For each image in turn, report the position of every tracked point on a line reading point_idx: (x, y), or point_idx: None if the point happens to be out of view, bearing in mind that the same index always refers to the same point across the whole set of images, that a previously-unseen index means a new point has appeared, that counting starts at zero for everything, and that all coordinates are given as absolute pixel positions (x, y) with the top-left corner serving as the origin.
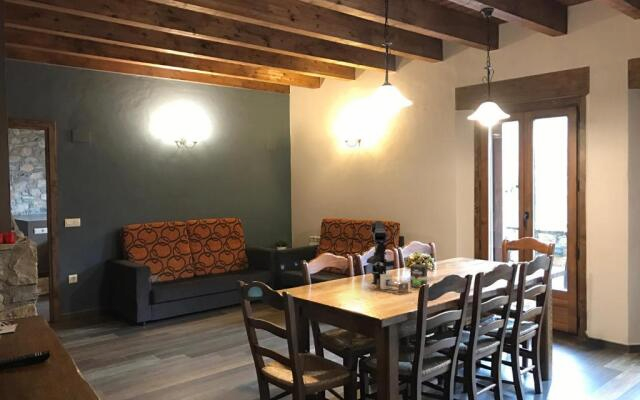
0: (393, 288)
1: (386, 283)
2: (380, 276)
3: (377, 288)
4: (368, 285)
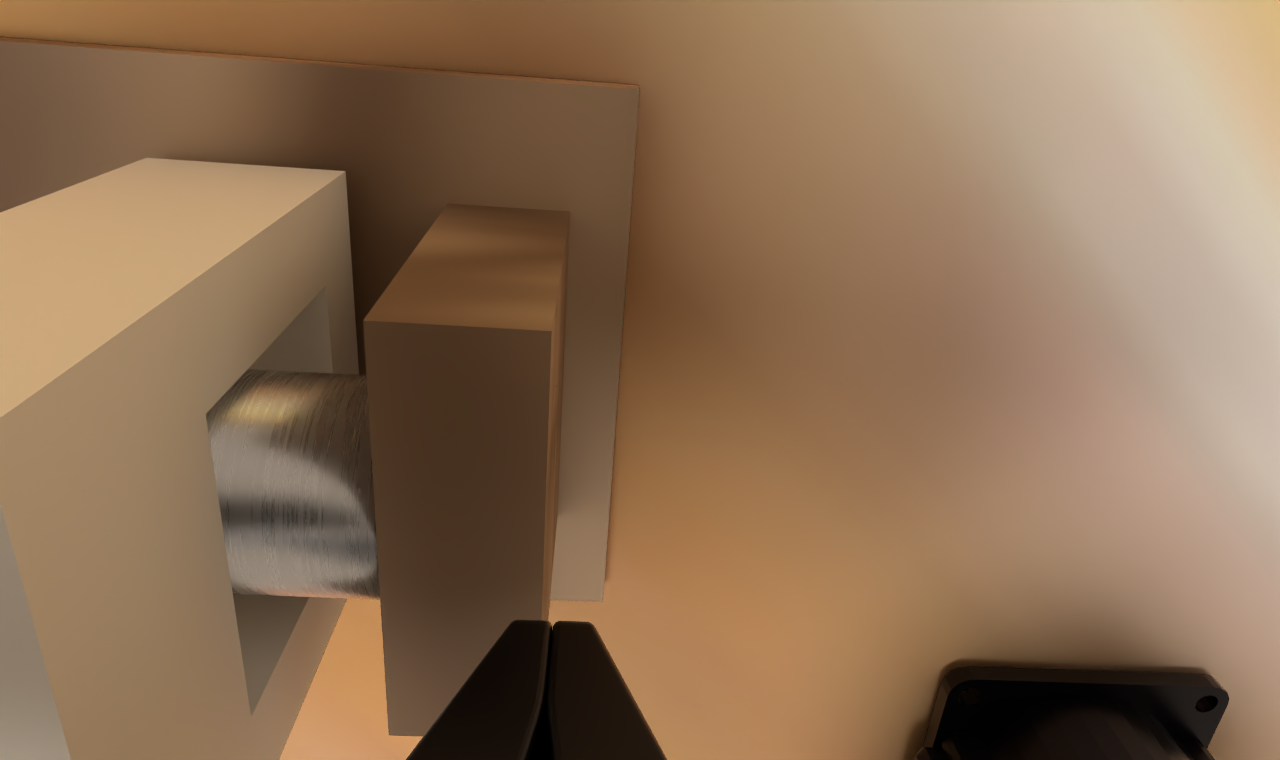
0: None
1: None
2: (73, 354)
3: (521, 190)
4: (1154, 444)
